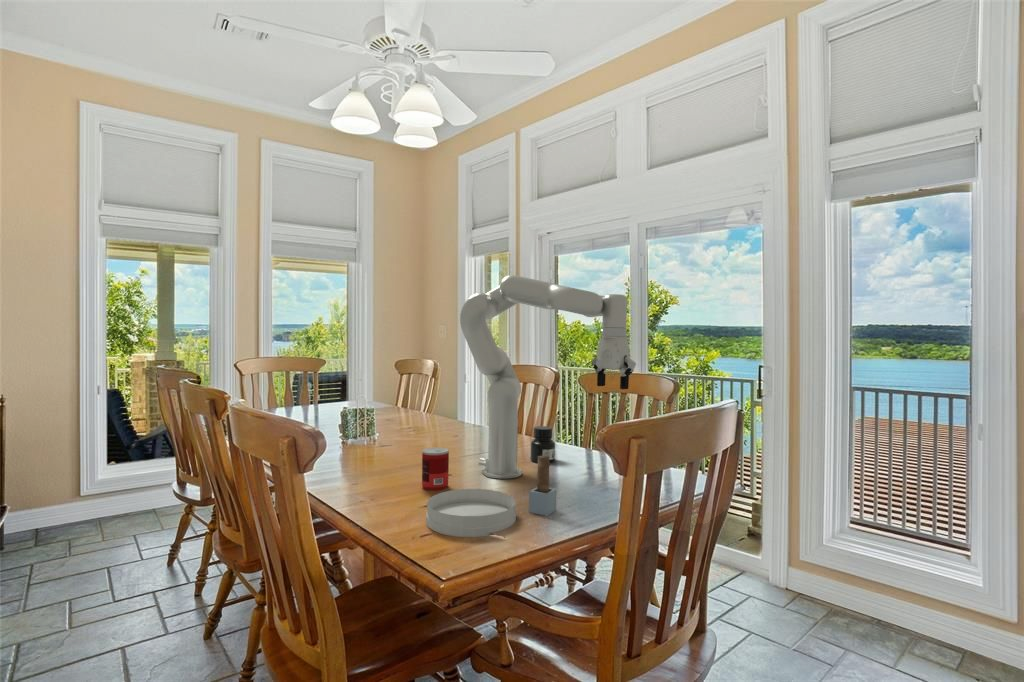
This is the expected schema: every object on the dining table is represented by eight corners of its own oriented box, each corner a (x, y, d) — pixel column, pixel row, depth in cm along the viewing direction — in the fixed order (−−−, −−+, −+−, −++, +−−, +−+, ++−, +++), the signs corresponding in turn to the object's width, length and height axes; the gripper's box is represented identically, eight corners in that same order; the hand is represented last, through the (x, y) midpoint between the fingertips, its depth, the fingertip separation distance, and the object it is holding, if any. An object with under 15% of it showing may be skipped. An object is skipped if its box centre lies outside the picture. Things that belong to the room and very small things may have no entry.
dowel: (534, 511, 140) (535, 457, 140) (540, 508, 143) (540, 455, 143) (545, 513, 139) (546, 458, 139) (550, 510, 141) (551, 456, 141)
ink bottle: (549, 465, 192) (549, 431, 192) (526, 462, 196) (526, 428, 196) (558, 459, 201) (559, 426, 201) (536, 456, 205) (537, 424, 205)
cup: (529, 514, 140) (529, 491, 140) (538, 508, 144) (538, 486, 144) (547, 518, 137) (547, 494, 137) (556, 512, 142) (556, 489, 142)
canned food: (453, 485, 166) (453, 448, 165) (438, 492, 158) (439, 454, 158) (431, 481, 169) (432, 446, 169) (416, 488, 162) (417, 451, 161)
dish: (440, 544, 121) (440, 521, 121) (416, 513, 141) (416, 493, 141) (531, 530, 129) (531, 509, 129) (496, 503, 150) (496, 485, 150)
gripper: (586, 332, 178) (584, 385, 178) (627, 334, 164) (625, 390, 165) (602, 333, 183) (600, 384, 183) (643, 334, 169) (641, 389, 169)
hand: (612, 387), depth 174 cm, fingers open, 9 cm apart
